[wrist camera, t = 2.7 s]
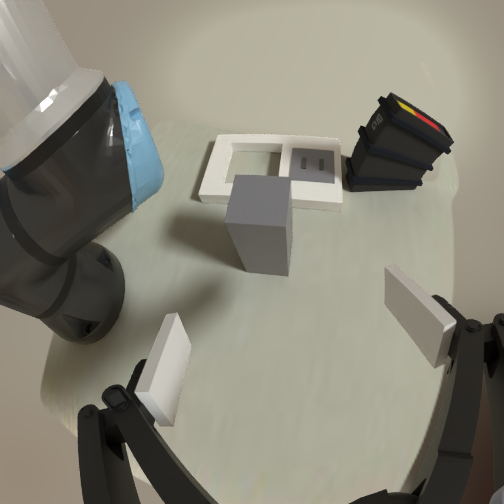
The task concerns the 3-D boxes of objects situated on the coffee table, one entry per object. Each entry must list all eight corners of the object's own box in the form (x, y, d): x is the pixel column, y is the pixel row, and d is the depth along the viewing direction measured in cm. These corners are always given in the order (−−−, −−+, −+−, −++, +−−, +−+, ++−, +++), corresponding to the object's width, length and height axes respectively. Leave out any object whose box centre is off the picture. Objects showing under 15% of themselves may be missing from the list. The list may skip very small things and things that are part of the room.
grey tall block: (246, 272, 33) (223, 222, 22) (253, 234, 35) (235, 173, 24) (288, 276, 32) (285, 226, 21) (292, 237, 34) (291, 176, 23)
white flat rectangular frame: (202, 202, 38) (197, 193, 36) (220, 143, 43) (217, 133, 41) (340, 211, 35) (342, 201, 32) (338, 147, 39) (339, 136, 37)
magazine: (323, 167, 36) (386, 88, 23) (390, 188, 40) (451, 131, 27) (329, 189, 34) (399, 108, 21) (397, 207, 38) (463, 150, 25)
